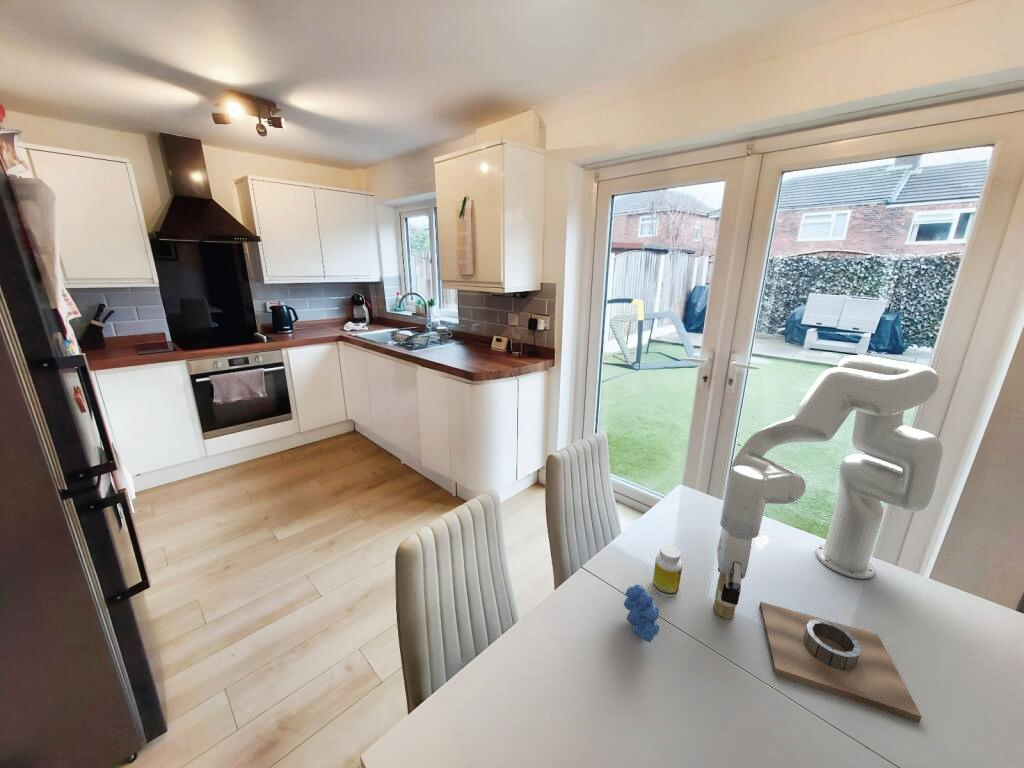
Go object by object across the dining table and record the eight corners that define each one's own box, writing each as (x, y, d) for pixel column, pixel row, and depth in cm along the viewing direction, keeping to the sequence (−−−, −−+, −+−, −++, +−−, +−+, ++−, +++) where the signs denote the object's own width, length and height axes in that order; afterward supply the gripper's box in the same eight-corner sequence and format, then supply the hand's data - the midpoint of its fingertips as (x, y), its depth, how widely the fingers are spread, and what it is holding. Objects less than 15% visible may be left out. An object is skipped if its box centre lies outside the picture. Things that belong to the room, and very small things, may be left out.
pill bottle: (680, 600, 96) (686, 561, 93) (654, 595, 97) (658, 557, 94) (675, 581, 102) (681, 544, 99) (650, 577, 103) (655, 541, 100)
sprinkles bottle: (719, 620, 90) (729, 571, 87) (708, 604, 95) (717, 556, 91) (738, 618, 91) (748, 570, 87) (727, 603, 95) (736, 555, 92)
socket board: (759, 606, 94) (760, 601, 94) (876, 639, 86) (877, 634, 85) (774, 673, 78) (775, 668, 78) (919, 722, 70) (921, 716, 69)
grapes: (671, 654, 82) (678, 608, 79) (641, 660, 81) (648, 613, 77) (642, 609, 93) (647, 567, 90) (616, 614, 92) (620, 571, 88)
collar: (799, 626, 87) (802, 614, 86) (847, 640, 84) (851, 627, 83) (809, 660, 79) (813, 646, 78) (863, 677, 76) (867, 663, 75)
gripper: (718, 498, 95) (707, 558, 100) (724, 540, 80) (710, 608, 84) (753, 506, 93) (740, 567, 97) (767, 550, 77) (751, 621, 82)
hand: (726, 586), depth 91 cm, fingers open, 9 cm apart
